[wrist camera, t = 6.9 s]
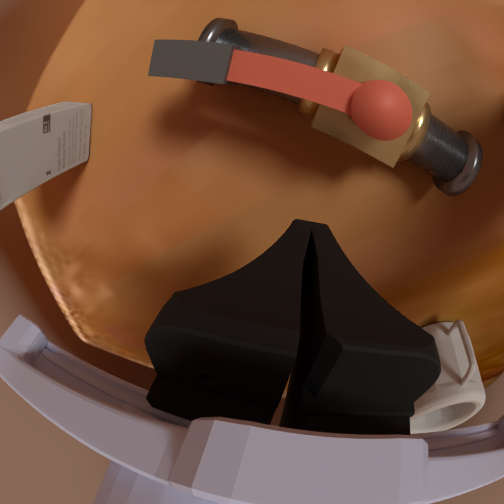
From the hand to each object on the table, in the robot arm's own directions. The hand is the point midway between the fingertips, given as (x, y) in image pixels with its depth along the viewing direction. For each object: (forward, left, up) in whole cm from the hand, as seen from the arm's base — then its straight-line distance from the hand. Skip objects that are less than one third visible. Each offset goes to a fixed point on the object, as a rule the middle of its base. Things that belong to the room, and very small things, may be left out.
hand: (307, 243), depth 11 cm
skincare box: (+22, +3, -10) cm, 24 cm away
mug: (-22, +11, -10) cm, 27 cm away
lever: (+4, -6, -5) cm, 8 cm away
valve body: (-1, -6, -10) cm, 12 cm away
